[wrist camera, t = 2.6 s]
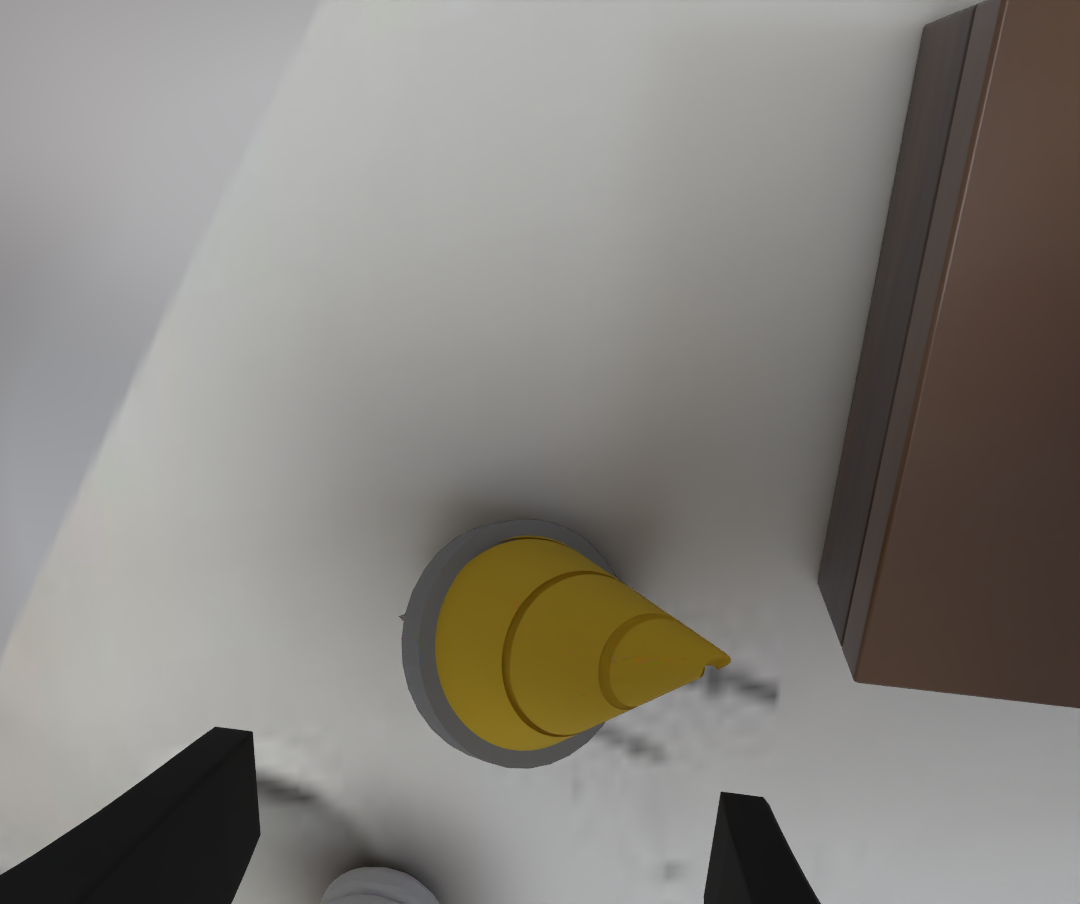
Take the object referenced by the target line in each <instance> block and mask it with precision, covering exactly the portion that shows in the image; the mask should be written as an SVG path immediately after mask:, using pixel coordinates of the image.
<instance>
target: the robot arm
mask: <svg viewBox="0 0 1080 904" xmlns="http://www.w3.org/2000/svg"><path fill="white" fill-rule="evenodd" d="M259 837H260V822H259V809H258V796H257V783H256V770H255V756H254V743H253V732H252V731H244V730H237V729H229V728H221V727H214V728H213V729H211V730H210V731H209V732H207V733H206V734H204V735H203V736H202V737H200V738H199V739H197V740H196V741H195V742H193V743H192V744H191V745H189V746H188V747H187V748H185V749H184V750H183V751H181V752H180V753H178V754H177V755H176V756H174V757H173V758H172V759H170V760H169V761H168V762H166V763H165V764H164V765H162V766H161V767H160V768H158V769H157V770H156V771H154V772H153V773H152V774H150V775H149V776H147V777H146V778H145V779H143V780H142V781H141V782H139V783H138V784H136V785H135V786H134V787H132V788H131V789H129V790H128V791H127V792H125V793H124V794H123V795H121V796H120V797H118V798H117V799H116V800H114V801H113V802H111V803H110V804H109V805H107V806H106V807H104V808H103V809H102V810H100V811H99V812H97V813H96V814H94V815H93V816H91V817H90V818H88V819H87V820H85V821H84V822H82V823H81V824H79V825H78V826H76V827H75V828H73V829H72V830H70V831H69V832H67V833H66V834H64V835H63V836H61V837H60V838H58V839H57V840H55V841H54V842H52V843H51V844H49V845H48V846H46V847H45V848H43V849H42V850H40V851H39V852H37V853H36V854H34V855H33V856H31V857H29V858H28V859H26V860H24V861H23V862H21V863H20V864H18V865H16V866H15V867H13V868H11V869H10V870H8V871H6V872H5V873H3V874H1V875H0V904H231V903H232V901H233V899H234V897H235V894H236V892H237V890H238V887H239V885H240V883H241V881H242V878H243V876H244V874H245V871H246V869H247V866H248V864H249V862H250V859H251V857H252V854H253V852H254V849H255V847H256V844H257V842H258V839H259ZM704 904H821V903H820V902H819V900H818V898H817V897H816V895H815V893H814V891H813V890H812V888H811V886H810V884H809V882H808V881H807V879H806V877H805V875H804V873H803V872H802V870H801V868H800V866H799V864H798V862H797V860H796V858H795V857H794V855H793V853H792V851H791V849H790V847H789V845H788V843H787V841H786V839H785V837H784V835H783V833H782V831H781V829H780V827H779V825H778V823H777V821H776V819H775V816H774V814H773V812H772V810H771V808H770V805H769V804H768V803H767V801H766V800H765V799H764V798H763V797H758V796H750V795H743V794H735V793H727V792H721V794H720V800H719V806H718V813H717V819H716V825H715V831H714V837H713V843H712V850H711V856H710V862H709V868H708V874H707V880H706V886H705V893H704Z"/></svg>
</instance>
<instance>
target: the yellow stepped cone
mask: <svg viewBox="0 0 1080 904" xmlns="http://www.w3.org/2000/svg"><path fill="white" fill-rule="evenodd" d="M399 617H400V618H401V619H402V620H403V621H404V625H403V632H402V661H403V668H404V672H405V676H406V681H407V685H408V689H409V691H410V693H411V696H412V698H413V700H414V702H415V704H416V707H417V709H418V711H419V712H420V714H421V715H422V716H423V718H424V719H425V721H426V722H427V723H428V725H429V726H430V728H431V729H432V730H433V731H434V732H435V733H437V734H438V735H439V736H440V737H441V738H442V739H443V740H444V741H445V742H447V743H448V744H449V745H451V746H453V747H454V748H456V749H458V750H460V751H462V752H463V753H465V754H467V755H470V756H472V757H475V758H478V759H480V760H483V761H486V762H489V763H492V764H496V765H500V766H503V767H507V768H534V767H539V766H543V765H548V764H552V763H554V762H556V761H558V760H560V759H563V758H565V757H567V756H569V755H571V754H572V753H573V752H575V751H576V750H578V749H579V748H580V747H582V746H583V745H584V744H586V743H587V742H588V741H589V740H590V739H591V738H592V737H593V736H594V735H595V734H596V732H597V731H598V730H599V729H600V728H601V727H602V726H603V724H604V723H605V721H607V720H609V719H611V718H614V717H616V716H618V715H620V714H622V713H624V712H627V711H629V710H631V709H633V708H635V707H637V706H639V705H642V704H644V703H646V702H648V701H651V700H653V699H655V698H657V697H659V696H661V695H664V694H666V693H668V692H670V691H672V690H674V689H677V688H679V687H681V686H683V685H685V684H688V683H690V682H692V681H694V680H696V679H698V678H701V677H702V676H703V674H704V670H705V666H706V665H712V666H714V667H715V668H716V669H720V668H722V667H724V666H726V665H728V664H729V663H730V661H731V659H730V657H729V656H728V655H727V654H726V653H724V652H723V651H722V650H720V649H719V648H717V647H716V646H715V645H713V644H712V643H710V642H709V641H707V640H706V639H704V638H703V637H701V636H700V635H699V634H697V633H696V632H694V631H693V630H691V629H690V628H688V627H687V626H685V625H684V624H682V623H681V622H679V621H678V620H677V619H675V618H674V617H672V616H671V615H669V614H668V613H666V612H665V611H663V610H662V609H660V608H659V607H658V606H656V605H655V604H653V603H652V602H650V601H649V600H647V599H646V598H644V597H643V596H641V595H640V594H639V593H637V592H636V591H634V590H633V589H631V588H630V587H628V586H627V585H625V584H624V583H622V582H621V581H619V580H618V579H617V578H616V576H615V574H614V573H613V571H612V570H611V568H610V567H609V565H608V564H607V562H606V560H605V559H604V558H603V557H602V555H601V554H600V553H599V552H598V551H597V550H596V549H595V548H594V547H593V546H592V545H591V544H590V543H589V542H588V541H586V540H585V539H583V538H582V537H581V536H579V535H578V534H576V533H575V532H574V531H572V530H569V529H567V528H565V527H562V526H560V525H558V524H556V523H552V522H546V521H541V520H536V519H530V520H511V521H505V522H498V523H493V524H489V525H485V526H482V527H478V528H475V529H473V530H471V531H469V532H467V533H465V534H463V535H461V536H459V537H457V538H456V539H454V540H453V541H452V542H451V543H449V544H448V545H447V546H446V547H444V548H443V549H442V550H441V551H440V552H439V553H438V554H437V555H436V556H435V557H434V559H433V560H432V561H431V562H430V563H429V565H428V566H427V567H426V568H425V569H424V571H423V573H422V575H421V577H420V578H419V580H418V582H417V584H416V586H415V588H414V589H413V592H412V595H411V598H410V601H409V604H408V607H407V610H406V613H405V614H404V615H401V616H399Z"/></svg>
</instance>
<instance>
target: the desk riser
mask: <svg viewBox="0 0 1080 904" xmlns="http://www.w3.org/2000/svg"><path fill="white" fill-rule="evenodd" d="M818 585H819V588H820V591H821V593H822V596H823V599H824V601H825V604H826V607H827V610H828V612H829V615H830V618H831V620H832V623H833V626H834V628H835V631H836V634H837V636H838V639H839V642H840V644H841V646H842V650H843V653H844V655H845V658H846V661H847V663H848V666H849V669H850V672H851V674H852V677H853V680H854V681H855V682H858V683H865V684H874V685H882V686H891V687H900V688H908V689H917V690H926V691H934V692H943V693H952V694H960V695H969V696H978V697H986V698H995V699H1004V700H1012V701H1021V702H1030V703H1038V704H1047V705H1056V706H1064V707H1073V708H1080V0H986V1H984V2H981V3H979V4H977V5H974V6H971V7H969V8H966V9H964V10H961V11H959V12H956V13H954V14H951V15H949V16H946V17H944V18H941V19H939V20H936V21H934V22H931V23H929V24H926V26H925V27H924V30H923V35H922V40H921V45H920V51H919V56H918V61H917V66H916V72H915V77H914V82H913V87H912V92H911V98H910V103H909V108H908V113H907V118H906V124H905V129H904V134H903V139H902V145H901V150H900V155H899V160H898V165H897V171H896V176H895V181H894V186H893V192H892V197H891V202H890V207H889V212H888V218H887V223H886V228H885V233H884V238H883V244H882V249H881V254H880V259H879V265H878V270H877V275H876V280H875V285H874V291H873V296H872V301H871V306H870V312H869V317H868V322H867V327H866V332H865V338H864V343H863V348H862V353H861V358H860V364H859V369H858V374H857V379H856V385H855V390H854V395H853V400H852V405H851V411H850V416H849V421H848V426H847V432H846V437H845V442H844V447H843V452H842V458H841V463H840V468H839V473H838V479H837V484H836V489H835V494H834V499H833V505H832V510H831V515H830V520H829V525H828V531H827V536H826V541H825V546H824V552H823V557H822V562H821V567H820V572H819V578H818Z"/></svg>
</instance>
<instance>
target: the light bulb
mask: <svg viewBox="0 0 1080 904" xmlns="http://www.w3.org/2000/svg"><path fill="white" fill-rule="evenodd" d="M319 904H439V902H438V901H437V899H436V898H435V896H434V895H433V894H432V893H431V892H430V891H429V890H428V889H427V888H426V887H425V886H424V885H423V884H421V883H420V882H419V881H418V880H416V879H415V878H414V877H412V876H410V875H408V874H407V873H404V872H401V871H398V870H394V869H391V868H387V867H363V868H357V869H354V870H350V871H348V872H346V873H344V874H342V875H340V876H339V877H338V878H337V879H335V880H334V881H333V882H332V883H331V884H330V885H329V886H328V888H327V889H326V891H325V893H324V894H323V896H322V898H321V900H320V903H319Z"/></svg>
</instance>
